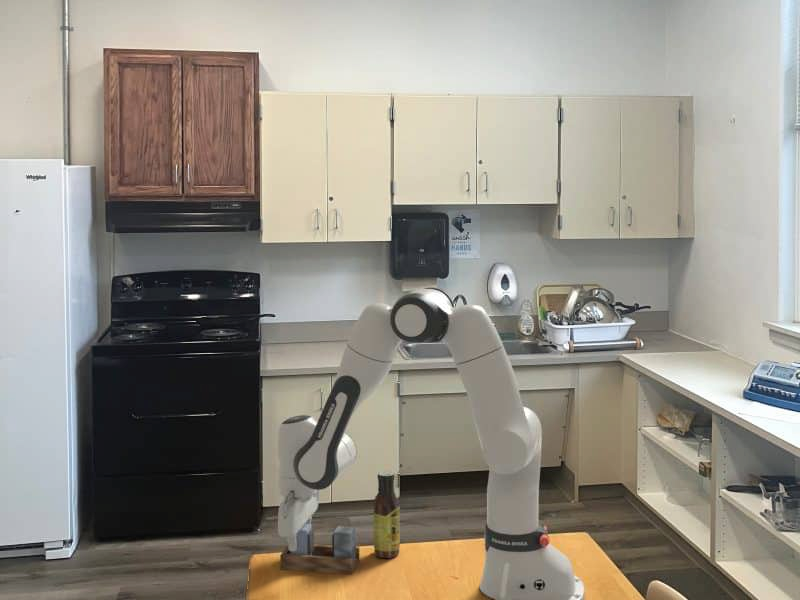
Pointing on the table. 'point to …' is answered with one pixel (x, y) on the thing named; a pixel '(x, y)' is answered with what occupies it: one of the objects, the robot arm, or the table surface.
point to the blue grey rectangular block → (305, 540)
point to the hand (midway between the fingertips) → (299, 542)
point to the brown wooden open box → (327, 555)
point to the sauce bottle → (386, 518)
